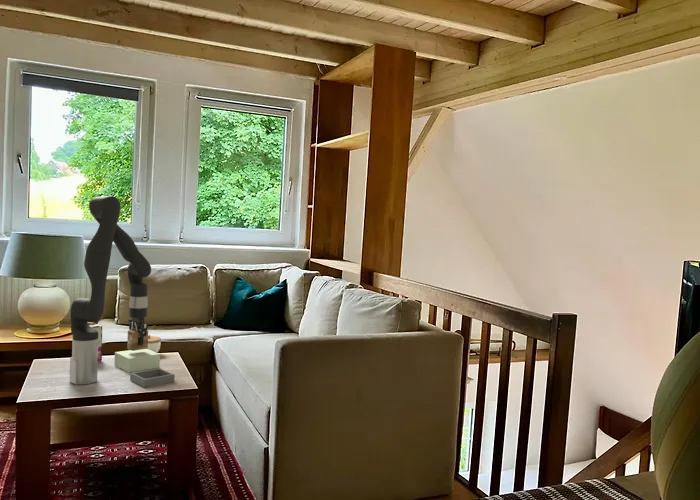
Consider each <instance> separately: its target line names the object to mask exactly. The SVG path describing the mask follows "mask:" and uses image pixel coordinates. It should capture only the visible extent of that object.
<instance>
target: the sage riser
mask: <svg viewBox="0 0 700 500" xmlns="http://www.w3.org/2000/svg"><path fill="white" fill-rule="evenodd" d="M160 359H161V355H160V353H159V352H157V353H156V352H154V351H151V350H149V349H142V350H135V351H132V350H129V349H128V350H122V351H115V352H114V365H115V366H114V367H116V366H117V367H116V368H119V369H120V368H121V369H120V370H122V369H123V371H124V370H125V372H126V371H127V372H126V373H128V372H129V373H134V372H140V371H146V370H152V369H158V368H161V367H160V363H161V361H160Z"/></svg>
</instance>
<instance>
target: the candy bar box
mask: <svg viewBox="0 0 700 500" xmlns="http://www.w3.org/2000/svg"><path fill="white" fill-rule="evenodd" d="M88 325H89V326H90V327H91V328H93V329H95V330H97V331H98V362H102V361H103V325H102V324H98V323H97V324H96V323H94V324H88Z"/></svg>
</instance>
